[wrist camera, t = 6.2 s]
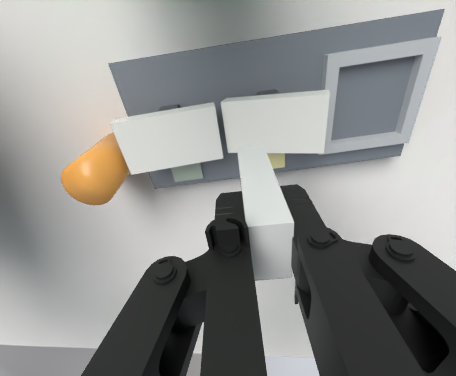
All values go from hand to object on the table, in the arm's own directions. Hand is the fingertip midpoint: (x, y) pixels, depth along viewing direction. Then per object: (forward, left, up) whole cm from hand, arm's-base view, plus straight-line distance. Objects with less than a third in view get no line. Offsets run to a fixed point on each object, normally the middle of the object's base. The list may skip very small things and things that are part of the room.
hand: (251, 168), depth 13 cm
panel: (+3, 0, -11) cm, 11 cm away
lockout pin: (-13, -2, -11) cm, 17 cm away
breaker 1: (-6, 0, -6) cm, 9 cm away
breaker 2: (+3, 0, -6) cm, 7 cm away
